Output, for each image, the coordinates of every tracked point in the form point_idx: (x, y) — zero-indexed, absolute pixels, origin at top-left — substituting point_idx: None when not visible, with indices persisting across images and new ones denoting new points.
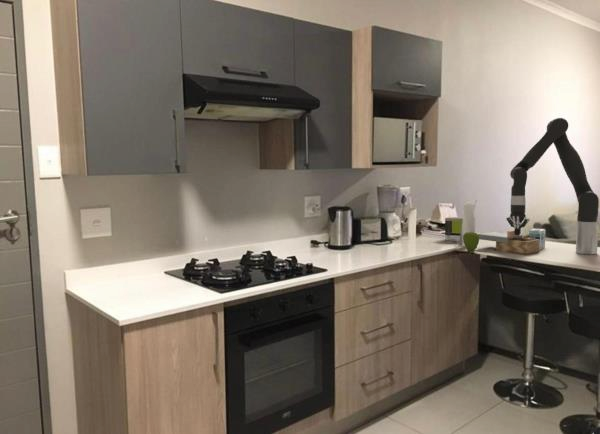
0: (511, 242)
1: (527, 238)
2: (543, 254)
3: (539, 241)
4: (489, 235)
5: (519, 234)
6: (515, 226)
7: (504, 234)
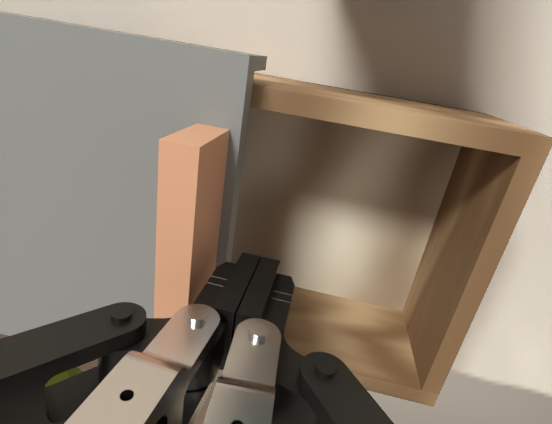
0: None
1: (359, 126)
2: (544, 212)
3: (539, 134)
4: (6, 334)
5: (279, 269)
6: (194, 400)
7: (50, 174)
